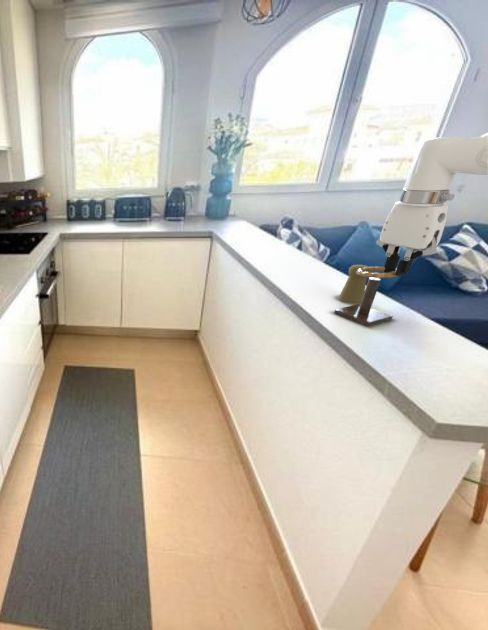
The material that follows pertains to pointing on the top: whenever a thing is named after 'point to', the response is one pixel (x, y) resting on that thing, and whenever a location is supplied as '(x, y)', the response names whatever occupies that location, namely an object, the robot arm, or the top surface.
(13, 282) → the top surface
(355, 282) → the cork
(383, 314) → the rack
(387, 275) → the ring
